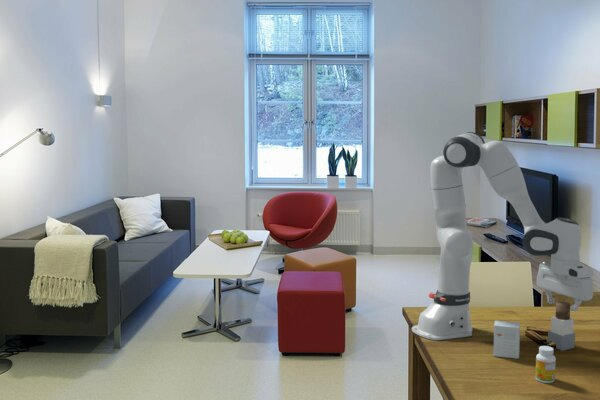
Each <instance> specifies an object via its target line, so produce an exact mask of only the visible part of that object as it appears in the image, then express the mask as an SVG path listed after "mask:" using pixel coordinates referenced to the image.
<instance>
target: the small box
mask: <svg viewBox="0 0 600 400" xmlns="http://www.w3.org/2000/svg"><path fill="white" fill-rule="evenodd" d="M520 326H521V324H520V322H519V321H518V322H517V321H505V320H504V321H503V320H494V324H493V357H498V358H506V359H507V358H508V359H518V360H519V359H520V345H521V344H520V342H521V341H520V340H521V339H520V336H521V333H520V332H521V330H520V329H521V327H520Z"/></svg>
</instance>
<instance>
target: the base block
mask: <svg viewBox="0 0 600 400" xmlns="http://www.w3.org/2000/svg"><path fill="white" fill-rule="evenodd" d="M548 341H552V342H554V343H555V344H556V348H555V349H557V350H559V351H562V352H563V351H566V350H571V349H574V348H575V345H576V344H575V343H576V333H575V332H573V333H572V334H568V335H564V336H562V335H559V334H557V333H554V332H551V330H548V332H547V342H548Z"/></svg>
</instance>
